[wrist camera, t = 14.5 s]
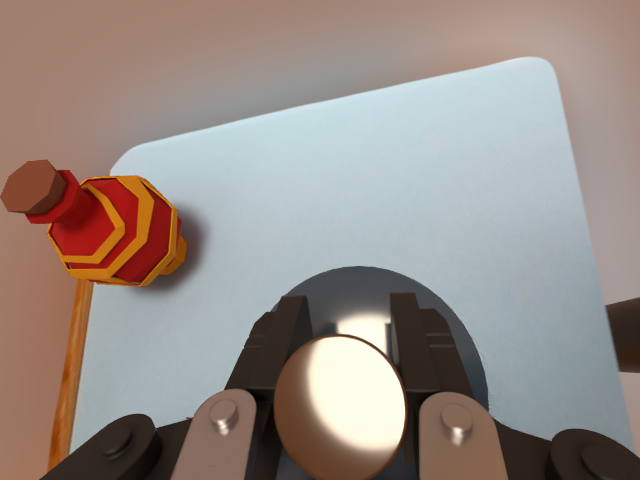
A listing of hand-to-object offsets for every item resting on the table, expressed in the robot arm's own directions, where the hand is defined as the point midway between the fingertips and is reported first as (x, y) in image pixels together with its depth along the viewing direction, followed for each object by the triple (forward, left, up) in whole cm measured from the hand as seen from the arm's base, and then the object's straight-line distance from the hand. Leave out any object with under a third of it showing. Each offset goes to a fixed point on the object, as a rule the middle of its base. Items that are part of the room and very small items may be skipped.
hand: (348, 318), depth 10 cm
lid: (-1, +2, -4) cm, 4 cm away
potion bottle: (+23, +6, -20) cm, 31 cm away
